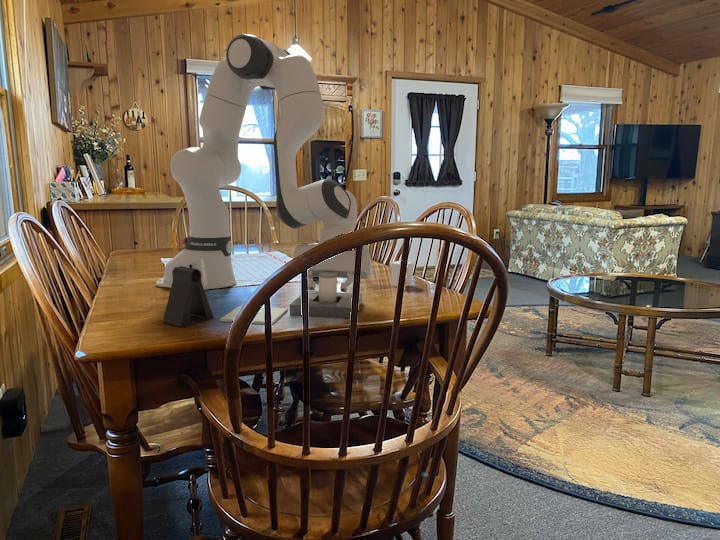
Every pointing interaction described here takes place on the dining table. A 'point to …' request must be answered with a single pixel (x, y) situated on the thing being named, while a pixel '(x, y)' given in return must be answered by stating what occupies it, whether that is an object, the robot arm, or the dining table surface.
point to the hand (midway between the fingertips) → (327, 289)
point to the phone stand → (187, 299)
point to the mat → (260, 318)
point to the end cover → (327, 286)
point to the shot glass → (396, 270)
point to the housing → (325, 306)
